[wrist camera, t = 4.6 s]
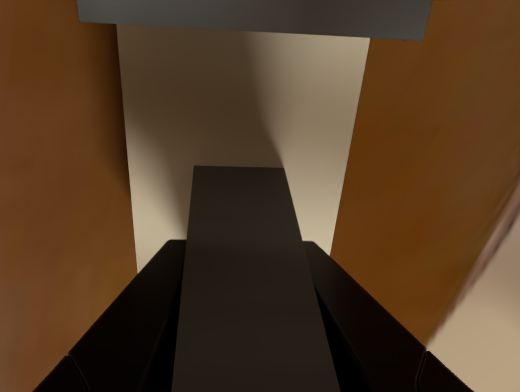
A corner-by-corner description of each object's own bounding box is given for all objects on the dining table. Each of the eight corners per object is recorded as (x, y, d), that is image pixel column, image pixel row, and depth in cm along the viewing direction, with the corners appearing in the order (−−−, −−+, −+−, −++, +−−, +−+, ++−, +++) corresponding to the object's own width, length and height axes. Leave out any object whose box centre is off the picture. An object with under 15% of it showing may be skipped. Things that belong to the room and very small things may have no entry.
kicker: (314, 250, 14) (398, 547, 7) (146, 248, 13) (77, 565, 7) (367, -67, 9) (669, -14, 3) (122, -86, 9) (-114, -71, 3)
